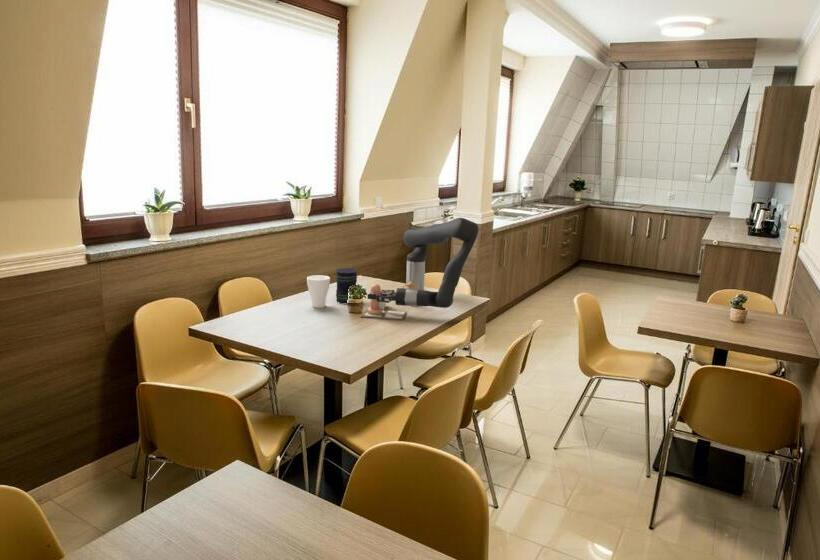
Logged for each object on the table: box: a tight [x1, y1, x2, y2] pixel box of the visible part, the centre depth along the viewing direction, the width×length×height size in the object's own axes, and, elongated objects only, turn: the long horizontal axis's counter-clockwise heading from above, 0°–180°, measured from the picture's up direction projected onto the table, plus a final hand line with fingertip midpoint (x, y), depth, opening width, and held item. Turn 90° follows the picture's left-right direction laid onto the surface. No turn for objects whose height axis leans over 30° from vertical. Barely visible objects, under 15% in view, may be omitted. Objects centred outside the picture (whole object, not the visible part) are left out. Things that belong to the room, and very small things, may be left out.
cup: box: [306, 274, 331, 309], centre depth 272 cm, size 10×10×14 cm
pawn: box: [367, 283, 383, 315], centre depth 261 cm, size 6×6×13 cm
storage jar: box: [335, 268, 358, 304], centre depth 282 cm, size 10×10×15 cm
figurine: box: [402, 281, 419, 290], centre depth 278 cm, size 8×6×12 cm
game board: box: [360, 308, 407, 321], centre depth 262 cm, size 12×18×1 cm, turn 81°
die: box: [369, 297, 387, 310], centre depth 274 cm, size 6×6×6 cm
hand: (369, 294), depth 261 cm, fingers open, 4 cm apart
